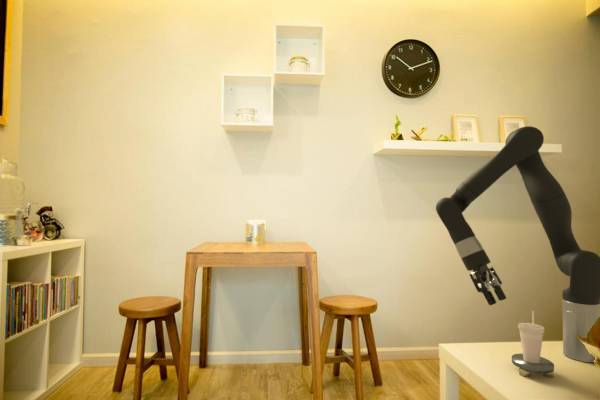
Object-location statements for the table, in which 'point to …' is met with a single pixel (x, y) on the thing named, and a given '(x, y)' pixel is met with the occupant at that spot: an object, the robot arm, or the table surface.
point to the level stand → (533, 366)
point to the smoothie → (531, 340)
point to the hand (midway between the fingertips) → (498, 301)
